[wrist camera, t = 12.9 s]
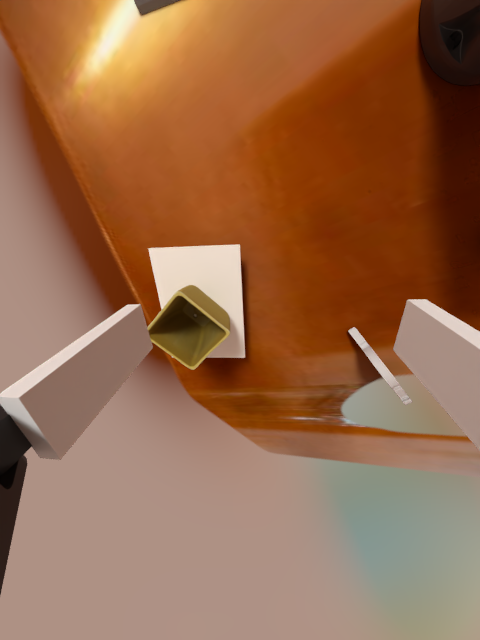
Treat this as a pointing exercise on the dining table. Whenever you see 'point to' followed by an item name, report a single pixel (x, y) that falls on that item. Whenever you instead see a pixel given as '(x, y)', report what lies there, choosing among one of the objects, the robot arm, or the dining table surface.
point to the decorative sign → (380, 366)
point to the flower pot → (190, 326)
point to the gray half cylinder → (151, 4)
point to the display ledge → (205, 284)
